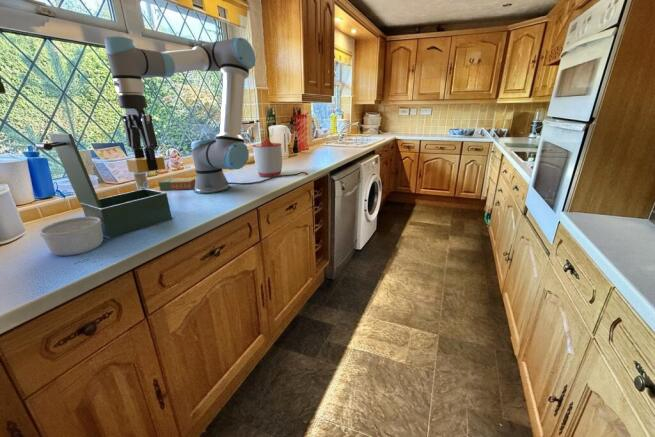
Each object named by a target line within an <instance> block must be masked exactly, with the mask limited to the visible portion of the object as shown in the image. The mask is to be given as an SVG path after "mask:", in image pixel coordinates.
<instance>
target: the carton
mask: <svg viewBox="0 0 655 437" xmlns="http://www.w3.org/2000/svg"><path fill="white" fill-rule="evenodd" d="M195 179H196V176H195V177H194V176H193V177H171V178H170V177H169V178H165V179H163V180H160V181H158V186H159V190H160V191H171V190H172V191H173V190H175V191H176V190H193V189H195Z"/></svg>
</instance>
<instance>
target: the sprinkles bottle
mask: <svg viewBox="0 0 655 437" xmlns="http://www.w3.org/2000/svg"><path fill="white" fill-rule="evenodd" d="M146 173H147V172H142V173H135V172H132V175H133V177H134V182H135V186H136V191H137V190H141V189H150V185H149V182H148V179H147V174H146Z"/></svg>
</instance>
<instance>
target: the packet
mask: <svg viewBox="0 0 655 437" xmlns="http://www.w3.org/2000/svg"><path fill="white" fill-rule="evenodd" d="M155 157H156V162H157V166H158V170H157V171H161V170H166V164H165V158H164V156H157V155H155ZM125 160H126V166H127V170H128V172H130V173H133V172H135V173H142V172H146V173H147V172H150V171H149V169H148V164H147V160H146V156H145V157H142V158H135V157H134V158H126V159H125ZM155 171H156V170H152V171H151V172H155Z"/></svg>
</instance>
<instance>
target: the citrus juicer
mask: <svg viewBox="0 0 655 437" xmlns="http://www.w3.org/2000/svg"><path fill="white" fill-rule="evenodd" d="M252 151H253V158H254V165H255V168H256V171H257V174H258V175H259V177H262V178H272V177H275V176H280V175H281V174H282V170H283V152H282V143H280V142H271V141H270V140H269V139H268V138H266V139H264V140H263V142H261V145H259V146H258V145H255V144H252Z"/></svg>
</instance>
